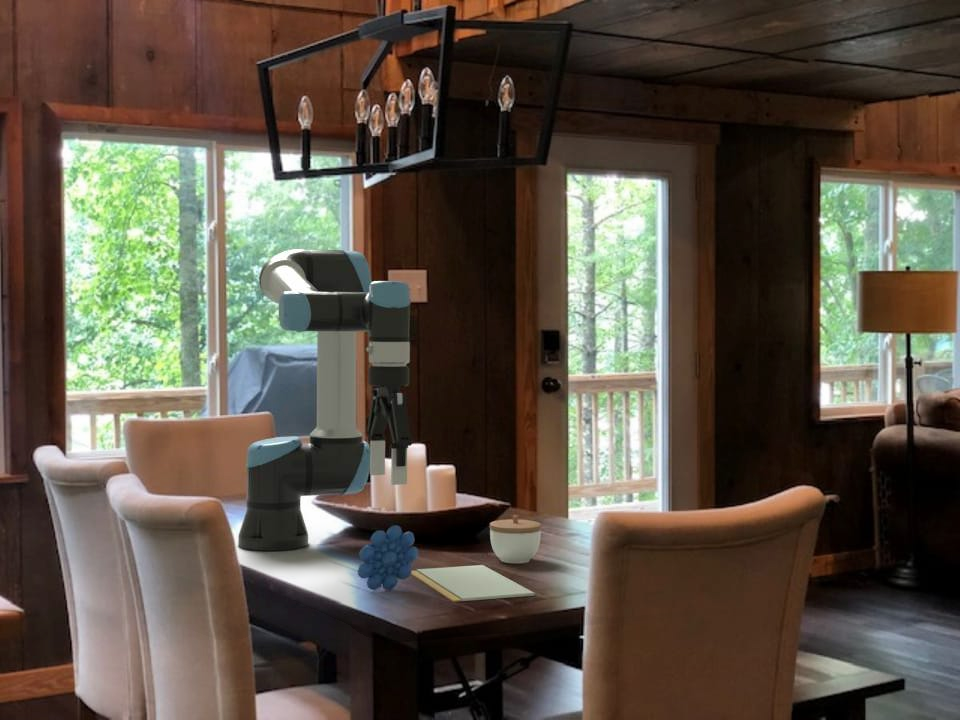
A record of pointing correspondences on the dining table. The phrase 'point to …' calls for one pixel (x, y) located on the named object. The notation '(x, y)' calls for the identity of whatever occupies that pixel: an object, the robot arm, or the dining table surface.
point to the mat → (474, 583)
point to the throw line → (435, 586)
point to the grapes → (387, 558)
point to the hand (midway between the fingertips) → (387, 479)
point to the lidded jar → (515, 539)
